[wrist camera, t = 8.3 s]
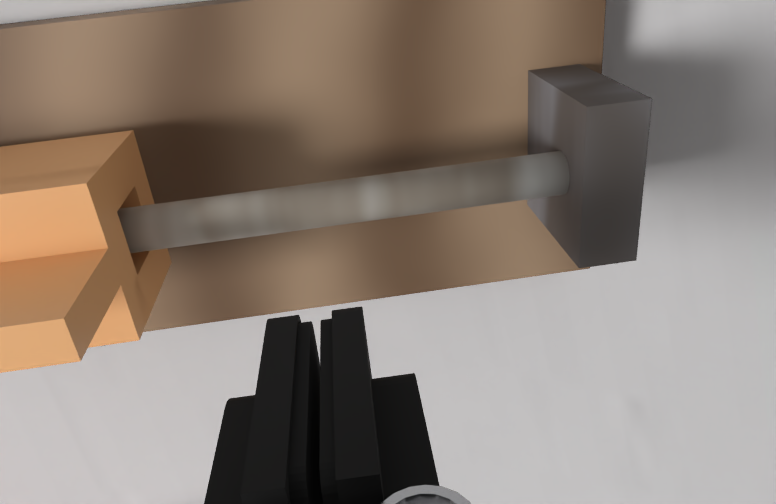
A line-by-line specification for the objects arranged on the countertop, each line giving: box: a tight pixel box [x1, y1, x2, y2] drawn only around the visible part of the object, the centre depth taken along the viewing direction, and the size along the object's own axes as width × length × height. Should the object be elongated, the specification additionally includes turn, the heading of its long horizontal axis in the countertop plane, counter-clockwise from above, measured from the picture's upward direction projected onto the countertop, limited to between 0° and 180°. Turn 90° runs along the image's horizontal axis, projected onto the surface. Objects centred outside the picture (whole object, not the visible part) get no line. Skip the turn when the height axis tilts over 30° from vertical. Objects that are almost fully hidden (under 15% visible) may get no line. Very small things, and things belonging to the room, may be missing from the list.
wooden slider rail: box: [0, 0, 652, 332], centre depth 17 cm, size 24×10×8 cm, turn 96°
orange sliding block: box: [0, 130, 171, 373], centre depth 15 cm, size 5×4×7 cm
